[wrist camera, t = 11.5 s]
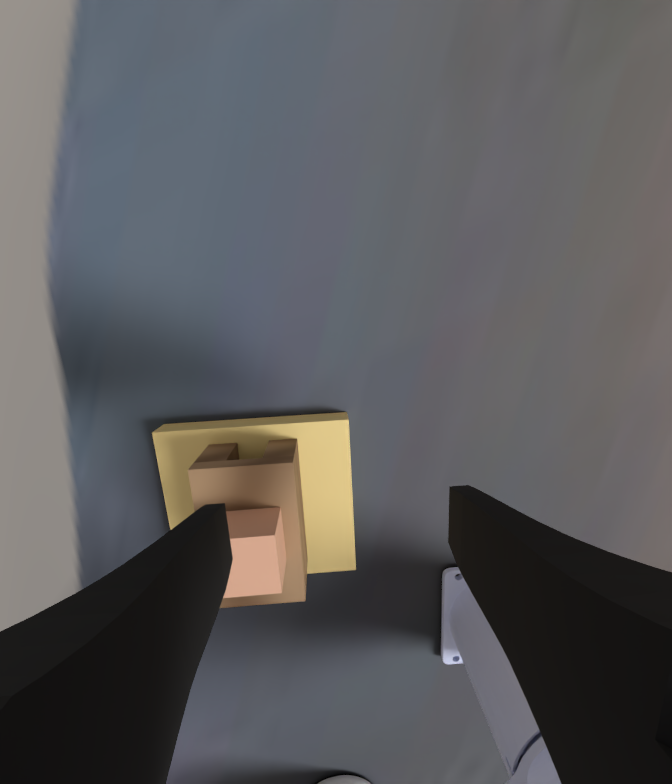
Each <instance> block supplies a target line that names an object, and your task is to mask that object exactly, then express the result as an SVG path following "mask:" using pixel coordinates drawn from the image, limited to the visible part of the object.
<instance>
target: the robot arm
mask: <svg viewBox="0 0 672 784" xmlns="http://www.w3.org/2000/svg"><path fill="white" fill-rule="evenodd" d="M448 542H449V545H450V548H451V550H452V553H453V555H454V558H455V560H456V563H457V565H458V567H452V568H447V569H445V570H444V571H443V574H442V620H441V658H442V661H443V662H444V663H445V664H458V663H464V666H465V668H466V671H467V673H468V676H469V678H470V681H471V683H472V685H473V688H474V690H475V693H476V695H477V698H478V700H479V703H480V705H481V708H482V710H483V713H484V715H485V718H486V720H487V722H488V725H489V727H490V730H491V732H492V735H493V737H494V740H495V742H496V745H497V747H498V750H499V752H500V755H501V757H502V759H503V762H504V764H505V767H506V769H507V772H508V774H509V777H510V779H509V780H508V781H507V782H505V783H504V784H672V572H668V571H665V570H661V569H658V568H655V567H652V566H649V565H646V564H643V563H640V562H637V561H634V560H631V559H627V558H624V557H621V556H619V555H616V554H613V553H610V552H608V551H605V550H602V549H600V548H597V547H595V546H592V545H590V544H587V543H585V542H582V541H580V540H577V539H575V538H573V537H570V536H568V535H566V534H563V533H561V532H559V531H557V530H555V529H553V528H551V527H549V526H546V525H544V524H542V523H540V522H538V521H536V520H534V519H532V518H530V517H528V516H526V515H524V514H522V513H521V512H519V511H517V510H515V509H513V508H511V507H509V506H508V505H506V504H504V503H502V502H500V501H498V500H496V499H495V498H493V497H491V496H489V495H487V494H485V493H483V492H482V491H480V490H478V489H476V488H474V487H471V486H469V485H466V486H452V487H450V495H449V538H448ZM232 561H233V556H232V549H231V542H230V535H229V529H228V522H227V515H226V508H225V503H219V504H205V505H204V506H202V507H201V508H199V509H198V510H197V511H195V512H194V513H192V514H191V515H190V516H189V517H187V518H186V519H185V520H183V521H182V522H181V523H179V524H178V525H177V526H176V527H174V528H173V529H172V530H170V531H169V532H168V533H166V534H165V535H164V536H162V537H161V538H160V539H158V540H157V541H156V542H154V543H153V544H152V545H150V546H149V547H147V548H146V549H144V550H143V551H142V552H140V553H139V554H137V555H136V556H135V557H133V558H132V559H130V560H129V561H127V562H126V563H125V564H123V565H122V566H120V567H119V568H117V569H115V570H114V571H112V572H111V573H109V574H108V575H106V576H104V577H103V578H101V579H99V580H98V581H96V582H94V583H93V584H91V585H89V586H88V587H86V588H84V589H83V590H81V591H79V592H77V593H76V594H74V595H72V596H70V597H68V598H66V599H64V600H62V601H60V602H59V603H57V604H55V605H53V606H51V607H49V608H47V609H45V610H44V611H41V612H40V613H38V614H36V615H34V616H32V617H30V618H28V619H26V620H24V621H22V622H20V623H18V624H15V625H13V626H11V627H9V628H7V629H5V630H3V631H1V632H0V784H166V780H167V776H168V772H169V768H170V764H171V760H172V756H173V752H174V749H175V745H176V741H177V737H178V733H179V729H180V726H181V722H182V718H183V715H184V711H185V707H186V704H187V700H188V696H189V693H190V689H191V686H192V683H193V680H194V677H195V674H196V671H197V668H198V665H199V662H200V660H201V657H202V654H203V652H204V649H205V646H206V643H207V641H208V638H209V635H210V633H211V630H212V627H213V624H214V622H215V619H216V616H217V614H218V611H219V608H220V605H221V602H222V600H223V597H224V594H225V591H226V587H227V583H228V579H229V575H230V570H231V565H232ZM457 574H459V575H458V576H456V575H457Z"/></svg>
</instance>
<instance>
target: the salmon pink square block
mask: <svg viewBox="0 0 672 784" xmlns="http://www.w3.org/2000/svg"><path fill="white" fill-rule="evenodd" d="M226 515H227V522H228V529H229V535H230V542H231V549H232V556H233V561H232V565H231V570H230V575H229V579H228V583H227V587H226V591H225V594H224V597H223V598H231V597H242V596H254V595H266V594H277V593H282V587H283V580H284V573H285V566H286V551H285V542H284V533H283V524H282V515H281V507H275V508H262V509H249V510H237V511H226Z"/></svg>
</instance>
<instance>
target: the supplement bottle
mask: <svg viewBox="0 0 672 784" xmlns="http://www.w3.org/2000/svg"><path fill="white" fill-rule="evenodd" d="M318 784H371V783H370V782H368V781H367V780H365V779H363V778H360V777H357V776H352V775H339V776H334V777H330V778H327V779H325V780H323V781H321V782H319V783H318Z"/></svg>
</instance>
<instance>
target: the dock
mask: <svg viewBox="0 0 672 784" xmlns="http://www.w3.org/2000/svg"><path fill="white" fill-rule="evenodd" d="M152 436H153V441H154V446H155V452H156V457H157V462H158V467H159V473H160V478H161V483H162V488H163V494H164V499H165V504H166V510H167V515H168V520H169V525H170V530H172V529H173V528H174V527H176V526H177V525H178V524H179V523H181V522H182V521H183V520H185V519H186V518H187V517H189V516H190V515H191V514H192V513H194V512H195V511H194V505H193V499H192V493H191V487H190V481H189V475H188V469H189V468H190V466H191V465H192V464H193V463H194V462H195V460H196V459H197V458H198V457H199V456H200V455H201V453H202V452H203V451H204V450H205V449H206V447H207V446H208V445H209V444H224V443H237V444H238V452H239V460H240V459H255V458H262V457H263V455H264V452H265V450H266V447H267V444H268V442H269V440H283V439H297V441H298V453H299V464H300V476H301V488H302V499H303V511H304V522H305V534H306V545H307V557H308V563H307V574H311V573H323V572H336V571H349V570H356V559H355V538H354V518H353V498H352V478H351V457H350V437H349V419H348V415H347V412H339V413H324V414H309V415H294V416H279V417H263V418H248V419H233V420H218V421H203V422H188V423H172V424H163V425H162V426H160V427H159V428H158V429H156V430H155V431H154V432H152Z"/></svg>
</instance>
